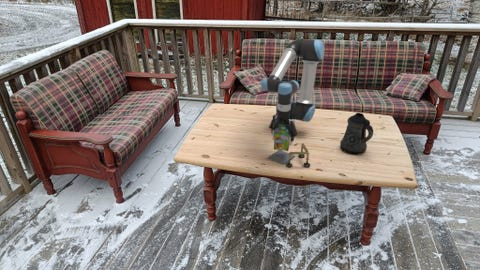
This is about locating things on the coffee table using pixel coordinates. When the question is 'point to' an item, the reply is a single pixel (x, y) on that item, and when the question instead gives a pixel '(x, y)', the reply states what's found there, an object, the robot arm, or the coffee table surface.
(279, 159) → the slate pad
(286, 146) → the chalk box
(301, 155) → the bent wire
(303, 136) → the coffee table surface
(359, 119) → the beer stein
